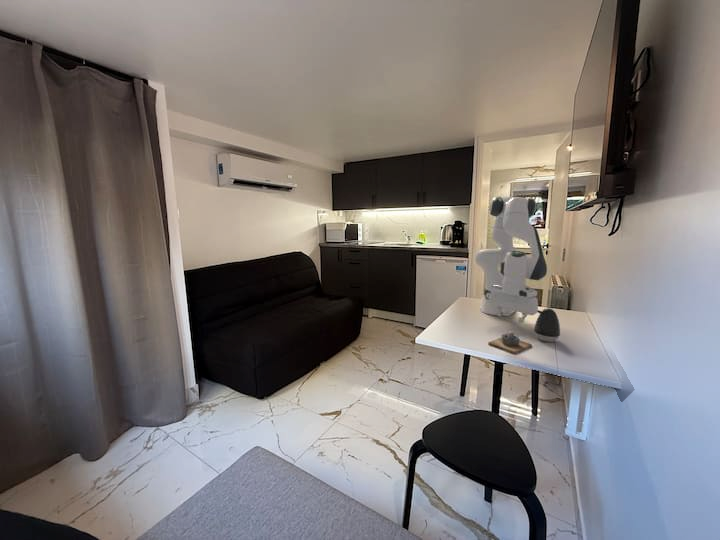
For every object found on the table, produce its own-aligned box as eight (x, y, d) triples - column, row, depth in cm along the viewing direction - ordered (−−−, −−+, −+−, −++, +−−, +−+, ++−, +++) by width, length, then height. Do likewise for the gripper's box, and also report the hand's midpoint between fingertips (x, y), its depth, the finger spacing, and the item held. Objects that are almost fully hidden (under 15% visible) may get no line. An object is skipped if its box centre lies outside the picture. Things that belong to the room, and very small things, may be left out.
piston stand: (505, 337, 140) (506, 325, 139) (531, 346, 131) (532, 333, 130) (488, 344, 133) (489, 331, 132) (514, 354, 123) (515, 340, 122)
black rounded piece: (528, 335, 143) (531, 305, 140) (550, 335, 143) (553, 305, 140) (540, 344, 133) (543, 311, 130) (564, 344, 132) (567, 311, 130)
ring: (506, 339, 136) (507, 333, 136) (521, 344, 131) (521, 337, 130) (498, 342, 132) (499, 336, 132) (513, 347, 127) (513, 340, 126)
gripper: (487, 285, 135) (485, 313, 137) (533, 294, 118) (530, 327, 120) (495, 283, 138) (493, 311, 140) (541, 292, 121) (537, 324, 124)
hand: (510, 319), depth 130 cm, fingers open, 8 cm apart
